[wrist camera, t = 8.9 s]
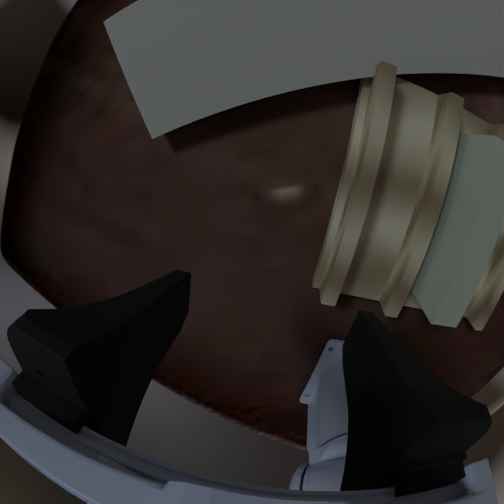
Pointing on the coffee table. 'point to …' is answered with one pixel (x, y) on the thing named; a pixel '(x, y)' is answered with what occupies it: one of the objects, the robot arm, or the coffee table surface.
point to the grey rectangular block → (289, 48)
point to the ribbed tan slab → (398, 196)
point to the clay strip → (463, 230)
